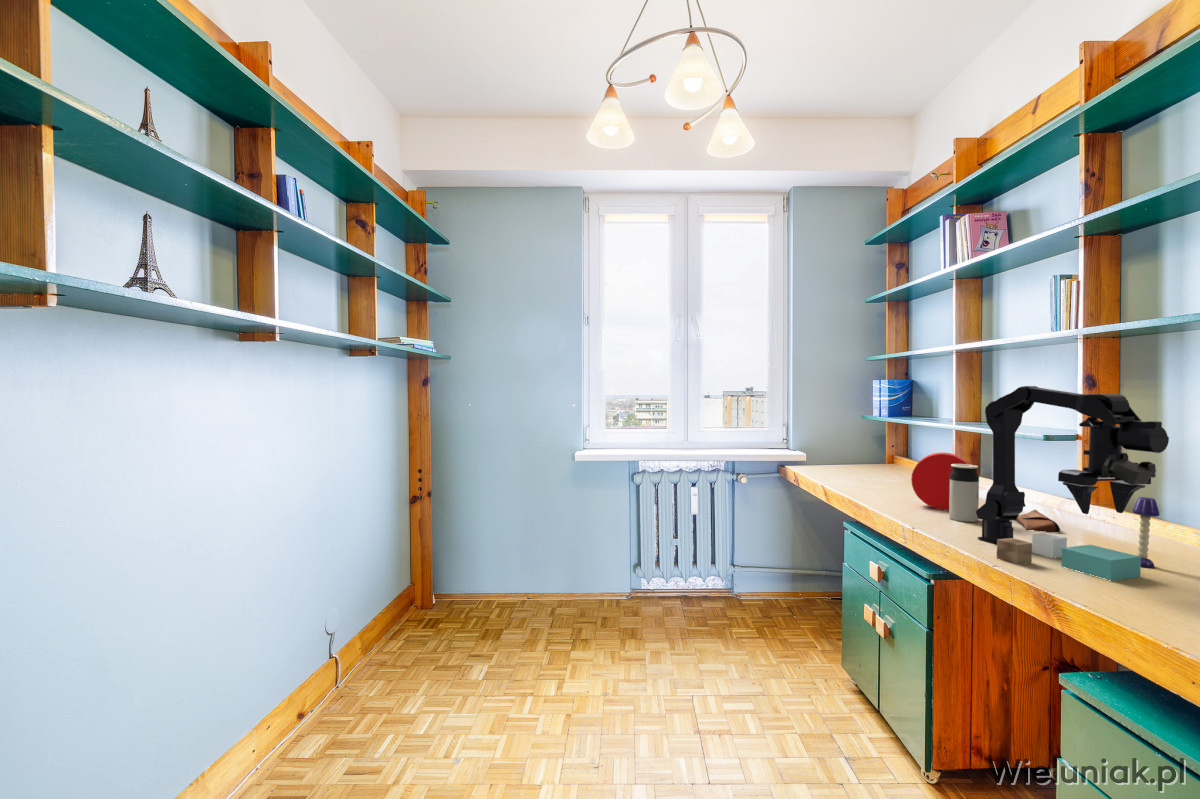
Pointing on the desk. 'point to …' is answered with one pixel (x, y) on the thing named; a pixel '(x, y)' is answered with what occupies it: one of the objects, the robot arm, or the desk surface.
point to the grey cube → (1048, 544)
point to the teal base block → (1101, 562)
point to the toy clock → (935, 478)
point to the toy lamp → (1145, 526)
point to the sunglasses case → (1037, 522)
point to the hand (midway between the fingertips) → (1102, 513)
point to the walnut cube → (1014, 551)
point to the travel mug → (964, 493)
